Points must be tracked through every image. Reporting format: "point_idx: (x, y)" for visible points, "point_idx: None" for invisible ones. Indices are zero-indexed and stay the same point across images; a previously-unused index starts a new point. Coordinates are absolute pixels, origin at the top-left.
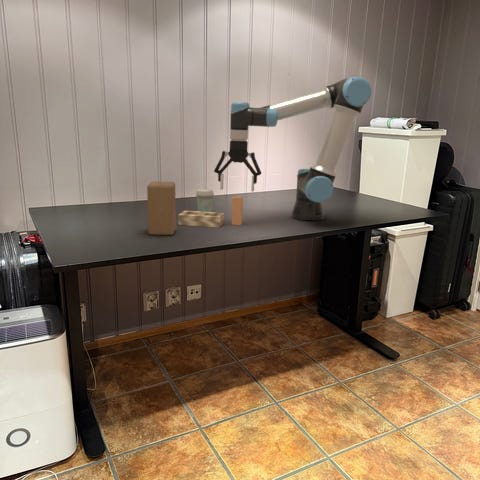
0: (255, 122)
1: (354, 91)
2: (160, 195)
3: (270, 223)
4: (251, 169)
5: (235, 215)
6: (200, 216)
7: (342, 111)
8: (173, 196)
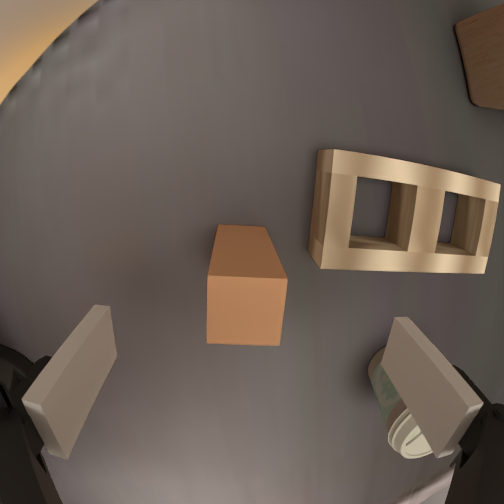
0: None
1: None
2: None
3: (92, 289)
4: (11, 486)
5: (248, 237)
6: (426, 165)
7: None
8: None
